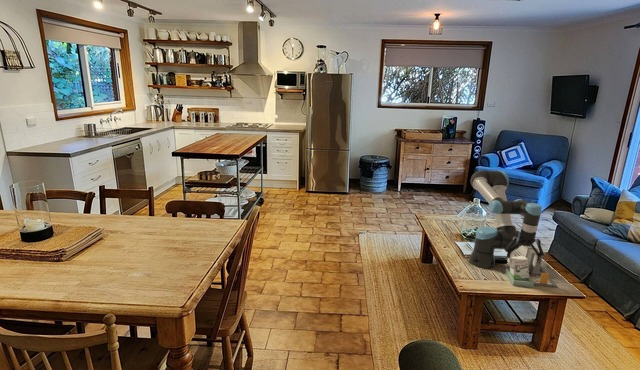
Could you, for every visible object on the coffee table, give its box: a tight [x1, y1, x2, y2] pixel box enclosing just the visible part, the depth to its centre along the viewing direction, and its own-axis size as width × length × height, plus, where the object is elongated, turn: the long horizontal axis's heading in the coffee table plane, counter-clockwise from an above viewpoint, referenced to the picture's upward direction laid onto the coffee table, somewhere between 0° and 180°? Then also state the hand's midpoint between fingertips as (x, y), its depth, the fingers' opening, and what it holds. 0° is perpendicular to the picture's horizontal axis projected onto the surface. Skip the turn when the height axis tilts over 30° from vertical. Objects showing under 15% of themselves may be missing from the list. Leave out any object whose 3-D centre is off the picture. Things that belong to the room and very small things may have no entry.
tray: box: [504, 267, 535, 288], centre depth 212 cm, size 11×15×3 cm
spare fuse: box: [525, 247, 543, 273], centre depth 223 cm, size 5×9×12 cm, turn 170°
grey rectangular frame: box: [529, 263, 558, 288], centre depth 218 cm, size 14×28×7 cm, turn 170°
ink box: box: [509, 255, 530, 279], centre depth 210 cm, size 9×5×12 cm, turn 87°
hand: (521, 264), depth 210 cm, fingers open, 13 cm apart
